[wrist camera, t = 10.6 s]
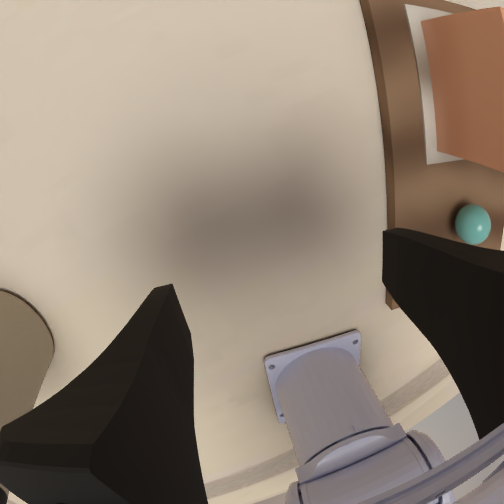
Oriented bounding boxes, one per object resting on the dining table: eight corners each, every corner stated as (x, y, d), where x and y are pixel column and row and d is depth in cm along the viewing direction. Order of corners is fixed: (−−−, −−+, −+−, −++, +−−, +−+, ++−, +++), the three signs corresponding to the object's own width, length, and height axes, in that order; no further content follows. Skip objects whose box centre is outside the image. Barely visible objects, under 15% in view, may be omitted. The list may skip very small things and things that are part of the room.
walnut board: (490, 262, 25) (497, 267, 24) (385, 303, 24) (392, 311, 23) (485, 16, 15) (495, 15, 14) (357, -10, 14) (365, -15, 13)
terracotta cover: (486, 145, 19) (556, 169, 12) (437, 150, 18) (515, 177, 12) (474, 32, 15) (546, 29, 8) (420, 21, 14) (499, 6, 8)
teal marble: (470, 231, 22) (495, 245, 19) (446, 239, 21) (471, 255, 19) (473, 196, 20) (500, 208, 18) (448, 202, 20) (475, 216, 17)
